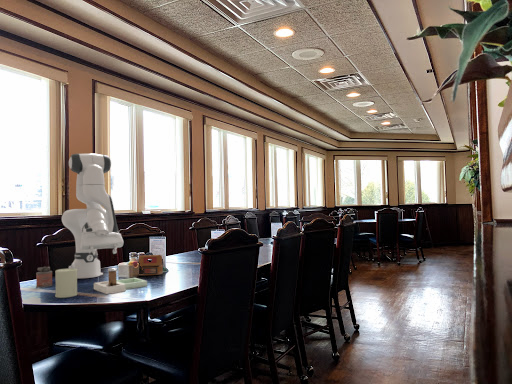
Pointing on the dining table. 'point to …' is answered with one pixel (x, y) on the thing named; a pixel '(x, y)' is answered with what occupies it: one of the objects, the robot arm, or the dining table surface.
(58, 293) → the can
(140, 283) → the parts tray
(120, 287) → the white shallow tray
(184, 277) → the dining table surface
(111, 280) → the fuse
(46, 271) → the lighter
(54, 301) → the dining table surface
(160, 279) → the dining table surface
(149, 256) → the condiment caddy
